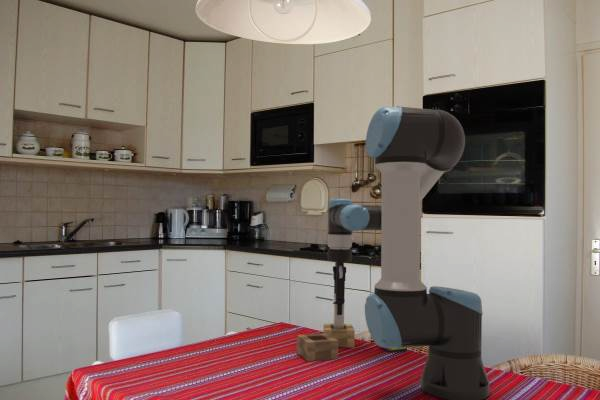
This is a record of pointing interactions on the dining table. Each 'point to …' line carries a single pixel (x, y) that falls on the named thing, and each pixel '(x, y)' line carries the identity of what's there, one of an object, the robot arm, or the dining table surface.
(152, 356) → the dining table surface
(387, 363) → the dining table surface
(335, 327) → the needle dowel
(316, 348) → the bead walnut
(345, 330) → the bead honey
